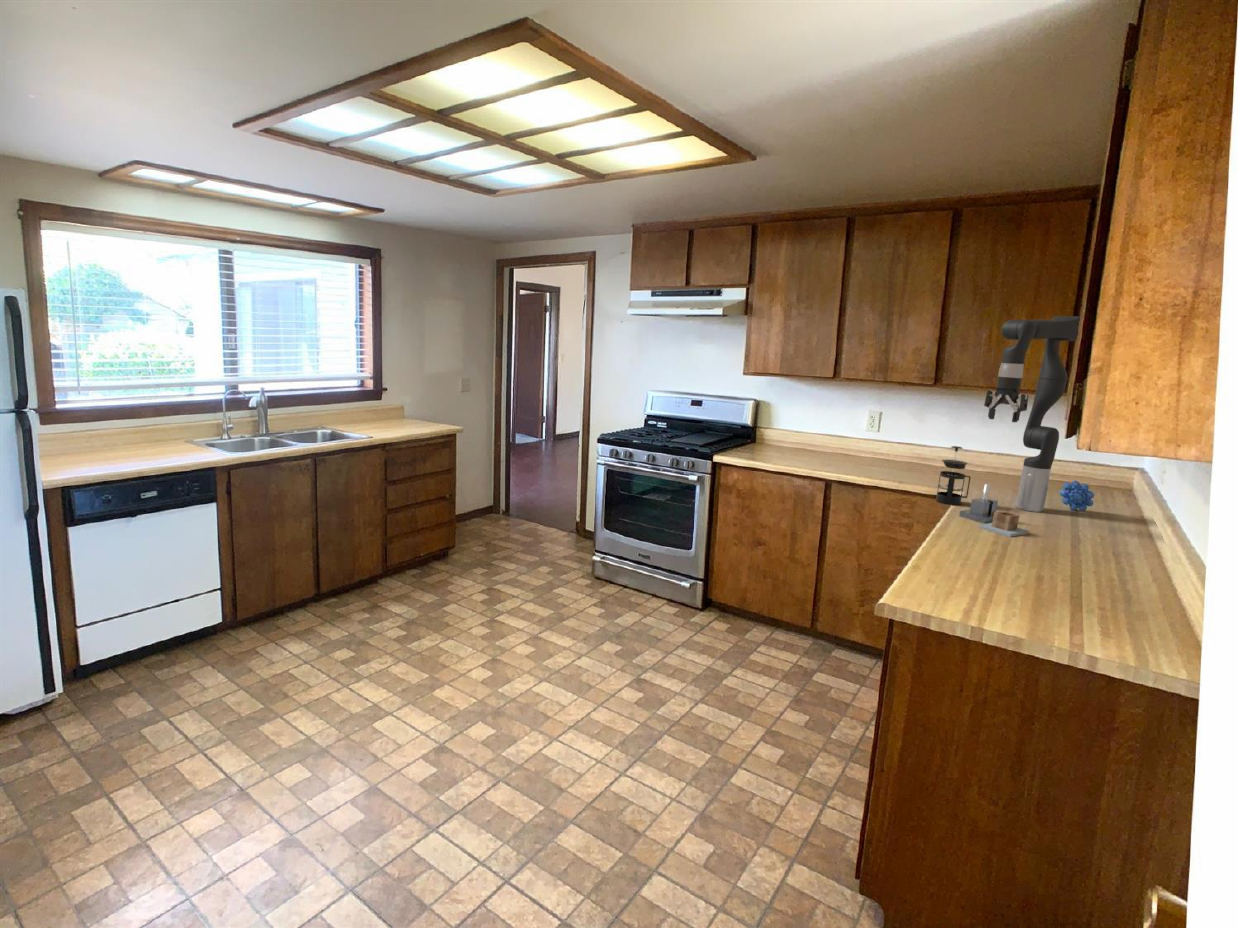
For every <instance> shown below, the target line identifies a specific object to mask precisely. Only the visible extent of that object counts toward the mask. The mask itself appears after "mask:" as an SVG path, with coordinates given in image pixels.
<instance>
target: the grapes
mask: <svg viewBox="0 0 1238 928" xmlns="http://www.w3.org/2000/svg"><path fill="white" fill-rule="evenodd" d="M1062 488H1063V489H1060V490H1059V495H1060V496H1061V497H1062V499H1061V501H1062V502H1061V503H1062V504H1063V505H1066V506H1069V508H1070V510H1072V511H1077V510H1080V511H1081V512H1085V511H1087V509H1088V507H1092V506H1094V503H1095V502H1094V501H1093V499H1094V497H1095V493H1094V492H1093V491H1092V490H1089V489H1090V487H1089V485H1088V484H1087V483H1082V484H1081V483H1080V482H1079V481H1078V480H1073V481H1071V483H1069V482H1065V483H1063V485H1062Z"/></svg>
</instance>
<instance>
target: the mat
mask: <svg viewBox="0 0 1238 928" xmlns="http://www.w3.org/2000/svg"><path fill="white" fill-rule="evenodd" d="M978 528H979V529H982V530H987V531H989V532H993V533H996V534H999V535H1002V536H1004V537H1005V536H1006V537H1008V538H1011V537H1012V538H1013V537H1016V536H1023V535H1028V534H1030V530H1027V529H1026V528H1021V527H1018V526H1017V529H1016V530H1010V531H1006V530H1003V529H999V528H996V527H992V523H982V524H978Z"/></svg>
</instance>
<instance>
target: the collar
mask: <svg viewBox="0 0 1238 928" xmlns="http://www.w3.org/2000/svg"><path fill="white" fill-rule="evenodd" d="M1019 519H1020V515H1019V514H1015V513H1013V512H1008V511H1005V510H1002V511H996V512H994V516H993V522H992V527H996V528H999V529H1003V530H1006V531H1010V530H1016V529H1017V527H1018V526H1019Z"/></svg>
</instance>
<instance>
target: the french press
mask: <svg viewBox="0 0 1238 928" xmlns="http://www.w3.org/2000/svg"><path fill="white" fill-rule="evenodd" d="M951 448H952V449H954V452H955V454H954V459H942V460H941V461H942V462H943V465H944V466H945V467H946V468H949V469H952V470H951V471H949V470H947V471H946V470H942V471H940V472H939V479H938V485H937V490H936V491H937V492H936V497H935V499H934V500H935V502H936V503H939V504H942V505H946V506H961V505H962V498H963V499H967V498H968V495H969V489H970V482H971V475H966V474H965V473H962V472H955V469H956V470H965V469H966V466H967V465H968V462H966V461H962V460H958V459H956V458H957V453H958V451H959V450H960V449H963V447H961V446H956V445H951ZM941 477H942V478H946V479H948V484H940V481H941ZM966 478H968V481H967V482H968V483H967V489H966V495H963V491H964V484H965V479H966ZM955 480H963V482H962V487H961V486H957V485H955ZM939 488H940V489H942V490H946V491H939ZM955 491H956V492H959V491H961V494H959V493H955Z"/></svg>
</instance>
